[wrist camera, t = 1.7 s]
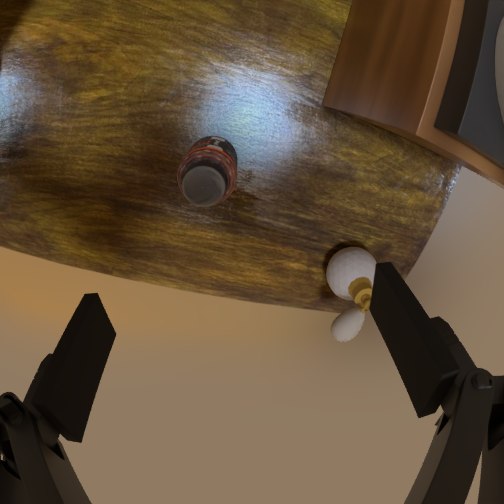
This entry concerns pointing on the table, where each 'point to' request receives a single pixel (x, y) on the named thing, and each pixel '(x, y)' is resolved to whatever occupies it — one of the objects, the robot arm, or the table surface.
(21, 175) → the table surface
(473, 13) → the scale
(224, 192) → the supplement bottle
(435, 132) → the stand
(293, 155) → the table surface
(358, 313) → the perfume bottle
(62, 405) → the robot arm
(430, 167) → the table surface
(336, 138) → the table surface
